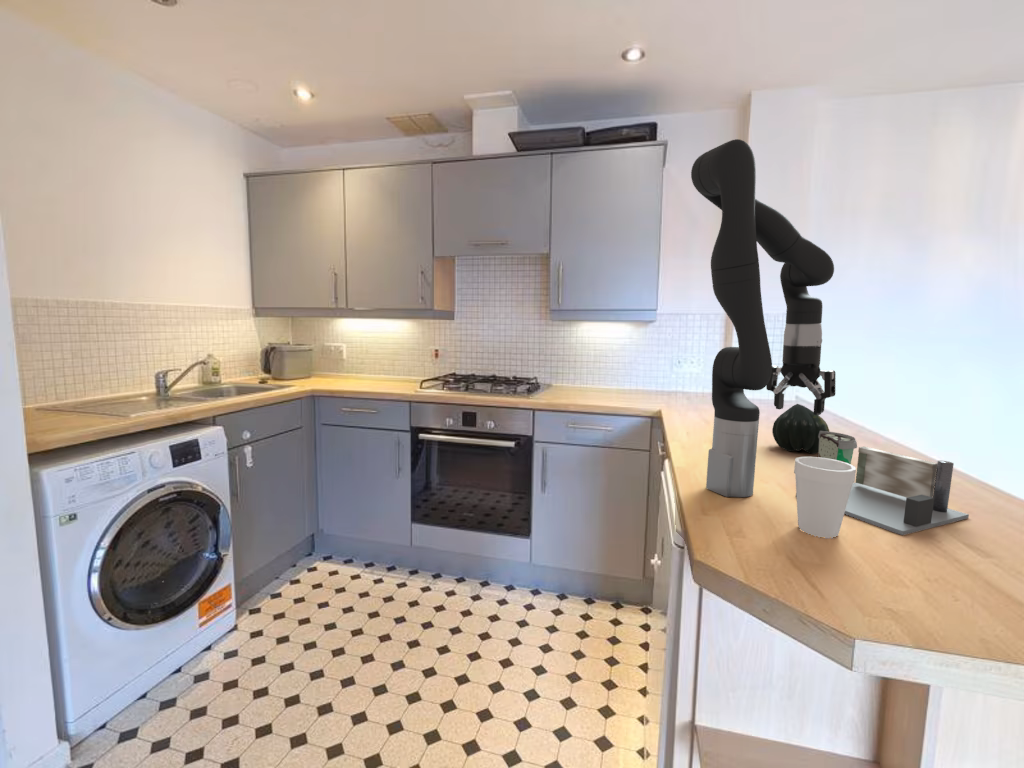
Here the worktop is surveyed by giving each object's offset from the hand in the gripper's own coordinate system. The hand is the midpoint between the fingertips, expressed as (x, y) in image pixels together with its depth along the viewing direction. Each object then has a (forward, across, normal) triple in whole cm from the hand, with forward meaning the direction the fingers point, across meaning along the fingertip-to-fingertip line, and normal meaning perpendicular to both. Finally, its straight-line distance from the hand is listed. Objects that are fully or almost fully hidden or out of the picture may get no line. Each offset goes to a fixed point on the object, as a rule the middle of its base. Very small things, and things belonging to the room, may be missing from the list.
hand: (797, 411), depth 111 cm
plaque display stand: (+18, +17, +1) cm, 25 cm away
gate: (+17, +17, +9) cm, 25 cm away
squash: (+20, -16, +35) cm, 44 cm away
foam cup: (+17, +16, -24) cm, 33 cm away
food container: (+19, +2, +20) cm, 28 cm away
